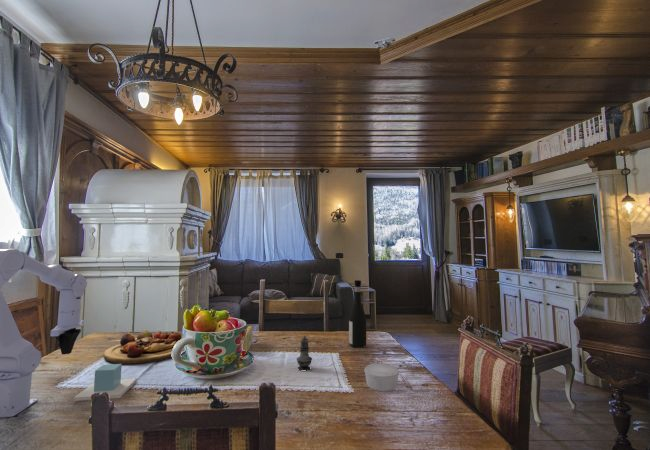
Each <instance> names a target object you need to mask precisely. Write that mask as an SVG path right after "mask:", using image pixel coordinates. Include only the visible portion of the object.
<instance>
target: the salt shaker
mask: <svg viewBox="0 0 650 450" xmlns="http://www.w3.org/2000/svg"><path fill="white" fill-rule="evenodd" d="M299 350H300V351H299V352H300V354H299V356H297V357H296V361H297V364H298V365H299V366H297V368H298V369H299V370H306V371H305V372H308V371H307V370H309V371H311V370H310V367H311V366H310V365H311V363H312V361H313V358H312V357H311V356H310V355H309V350H310V347H309V339H308V338H307V337H306V335H304V336H303V338H301V339H300V348H299ZM299 370H298V371H299Z"/></svg>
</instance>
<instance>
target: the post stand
mask: <svg viewBox="0 0 650 450" xmlns="http://www.w3.org/2000/svg"><path fill="white" fill-rule="evenodd" d="M136 382H137V378H124V379H122V378H121V383H120V384H119V385H118V386H117V387H116V388H115V389H114V390H110V391H95V392H94V382H92V383H91V384H90V385H89V386H88V385H87V387H85V388H84V389H83V390H82V391H81V392H79V393H78V394H77V395H75V396H74V398H73V402H81V401H92V400H91V395H92V394H94V393H98V392H107V393H109V395H110V399H109V400H111V399H120V398H122V397H123V396H124V395H125V394H126V393H127V392H128V391H129V390H130V389H131V388H132V387H133V386H134V385H135V384H136Z"/></svg>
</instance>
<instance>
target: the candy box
mask: <svg viewBox="0 0 650 450" xmlns="http://www.w3.org/2000/svg"><path fill="white" fill-rule="evenodd" d="M246 330H247V333H246V337H245V341H244V345H243V350H245V351H248V350H250V349H251V347H252V345H253V325H248V326H247V328H246ZM246 330H245V331H246ZM251 344H252V345H251ZM250 346H251V347H250ZM248 352H249V351H248Z"/></svg>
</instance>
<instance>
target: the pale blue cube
mask: <svg viewBox="0 0 650 450" xmlns="http://www.w3.org/2000/svg"><path fill="white" fill-rule="evenodd" d="M122 364H123V363H114V364H113V363H112V364H109V363H108V364H102V365H101V366H99V367H98V368H97V369H95V371H94V381H93V383H94V392H95V391H110V390H114V389H115V388H116V387H117V386H118V385H119V384H120V383H121V379H122V368H123V367H122V366H123V365H122Z"/></svg>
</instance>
